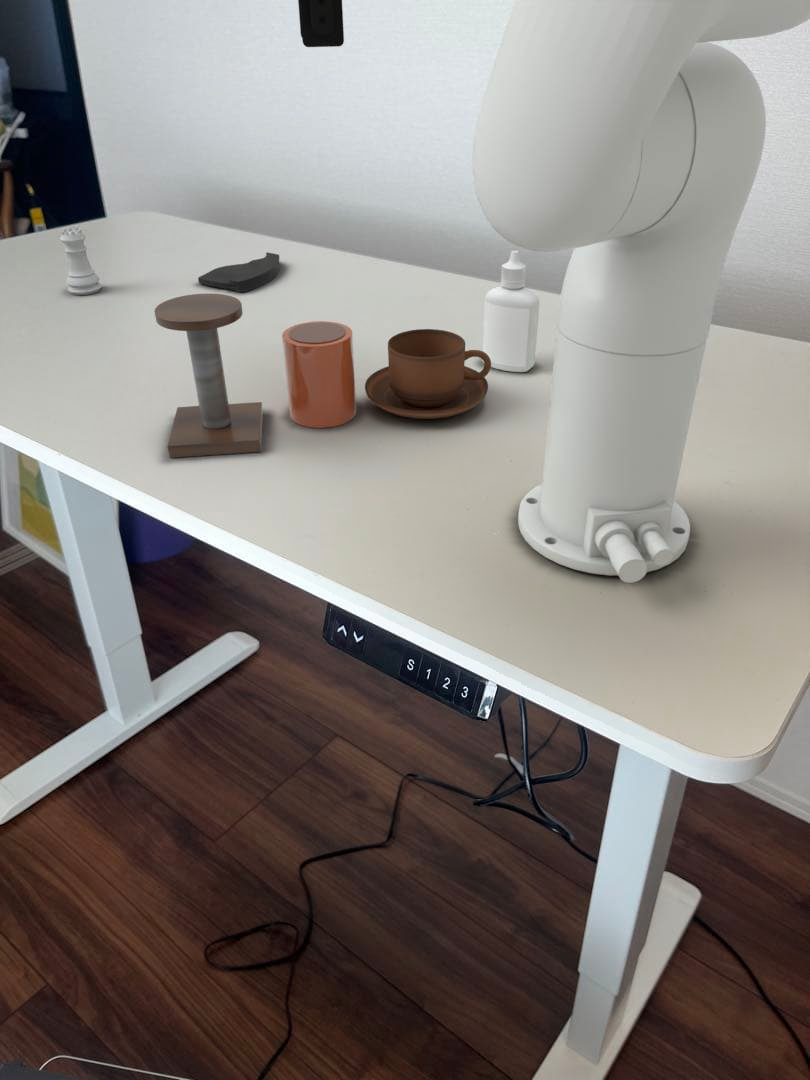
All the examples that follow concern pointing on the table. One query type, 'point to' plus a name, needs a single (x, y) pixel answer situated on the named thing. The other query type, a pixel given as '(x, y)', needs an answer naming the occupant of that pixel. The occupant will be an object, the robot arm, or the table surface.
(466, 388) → the cup and saucer
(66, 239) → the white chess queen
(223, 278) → the fan shaped piece
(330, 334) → the terracotta cup
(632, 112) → the robot arm
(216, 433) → the cat scratching post
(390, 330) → the table surface
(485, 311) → the eye dropper bottle
